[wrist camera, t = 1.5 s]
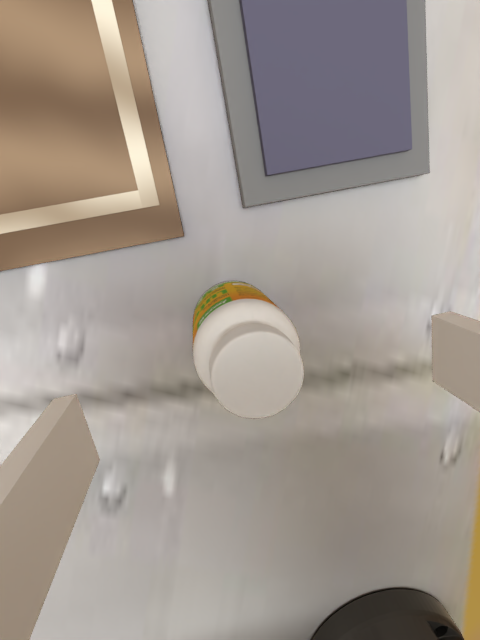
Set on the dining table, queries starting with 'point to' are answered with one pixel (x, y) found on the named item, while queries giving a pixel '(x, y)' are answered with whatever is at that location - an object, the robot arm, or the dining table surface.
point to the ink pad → (322, 93)
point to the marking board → (78, 134)
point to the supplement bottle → (246, 350)
